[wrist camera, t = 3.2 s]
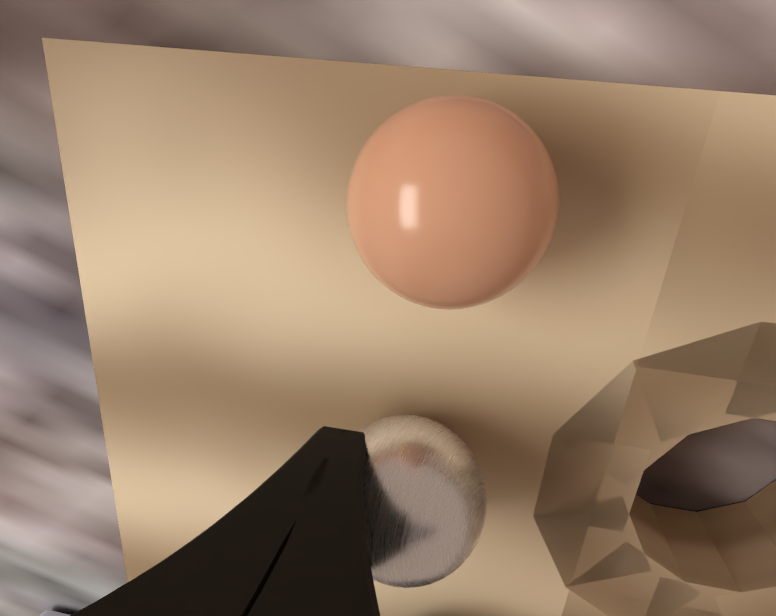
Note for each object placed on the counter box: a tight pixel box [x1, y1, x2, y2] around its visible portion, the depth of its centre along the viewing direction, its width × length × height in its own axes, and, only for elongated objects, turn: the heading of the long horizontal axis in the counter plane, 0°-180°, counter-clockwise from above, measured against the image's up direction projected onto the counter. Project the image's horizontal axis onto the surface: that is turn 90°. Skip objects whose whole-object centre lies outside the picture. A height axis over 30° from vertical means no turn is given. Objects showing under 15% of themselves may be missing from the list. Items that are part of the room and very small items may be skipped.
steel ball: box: [358, 415, 487, 588], centre depth 10 cm, size 3×3×3 cm
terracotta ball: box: [346, 94, 559, 310], centre depth 8 cm, size 3×3×3 cm
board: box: [42, 38, 776, 616], centre depth 12 cm, size 16×20×2 cm
